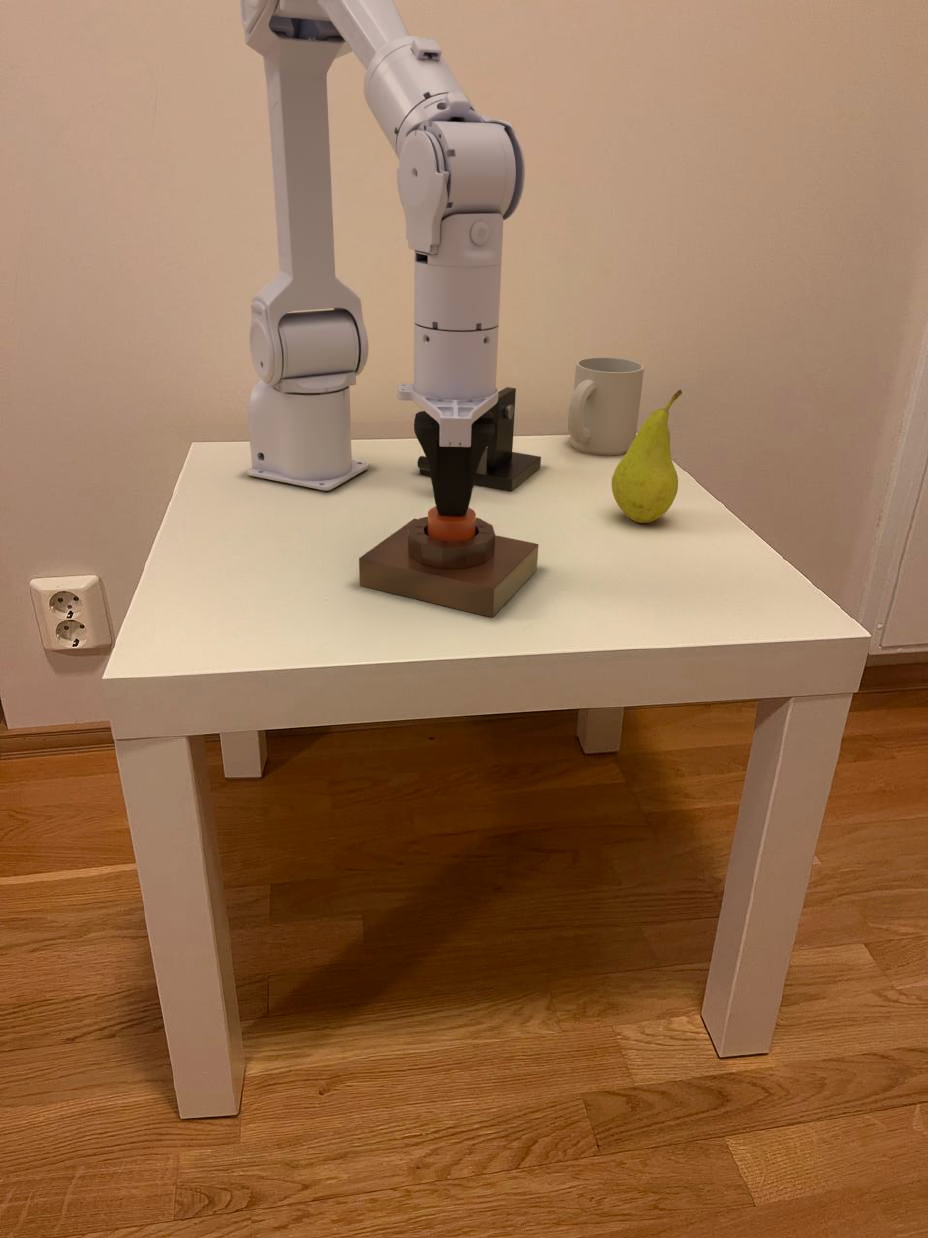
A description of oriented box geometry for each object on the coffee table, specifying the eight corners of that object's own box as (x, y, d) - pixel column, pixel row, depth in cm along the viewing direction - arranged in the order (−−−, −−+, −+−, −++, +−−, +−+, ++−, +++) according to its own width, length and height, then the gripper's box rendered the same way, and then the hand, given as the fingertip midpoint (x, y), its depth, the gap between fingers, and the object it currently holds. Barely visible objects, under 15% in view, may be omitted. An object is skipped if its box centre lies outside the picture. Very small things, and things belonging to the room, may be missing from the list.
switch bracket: (511, 491, 88) (516, 406, 84) (419, 474, 91) (419, 391, 87) (540, 467, 94) (546, 387, 90) (453, 452, 98) (455, 374, 94)
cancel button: (419, 538, 68) (419, 516, 67) (440, 522, 71) (440, 501, 70) (462, 547, 67) (463, 525, 66) (482, 530, 69) (483, 509, 69)
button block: (359, 585, 69) (357, 536, 67) (414, 543, 76) (414, 498, 74) (492, 618, 65) (495, 567, 63) (537, 570, 72) (540, 523, 70)
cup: (646, 446, 101) (657, 365, 97) (596, 466, 95) (604, 380, 90) (593, 432, 106) (600, 354, 101) (541, 450, 99) (546, 368, 95)
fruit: (598, 509, 84) (612, 379, 78) (657, 506, 85) (675, 377, 79) (621, 534, 79) (638, 396, 73) (683, 529, 80) (704, 394, 75)
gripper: (401, 303, 68) (402, 477, 74) (391, 344, 55) (393, 550, 61) (496, 306, 68) (488, 479, 74) (507, 347, 55) (497, 552, 61)
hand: (451, 511), depth 68 cm, fingers closed
